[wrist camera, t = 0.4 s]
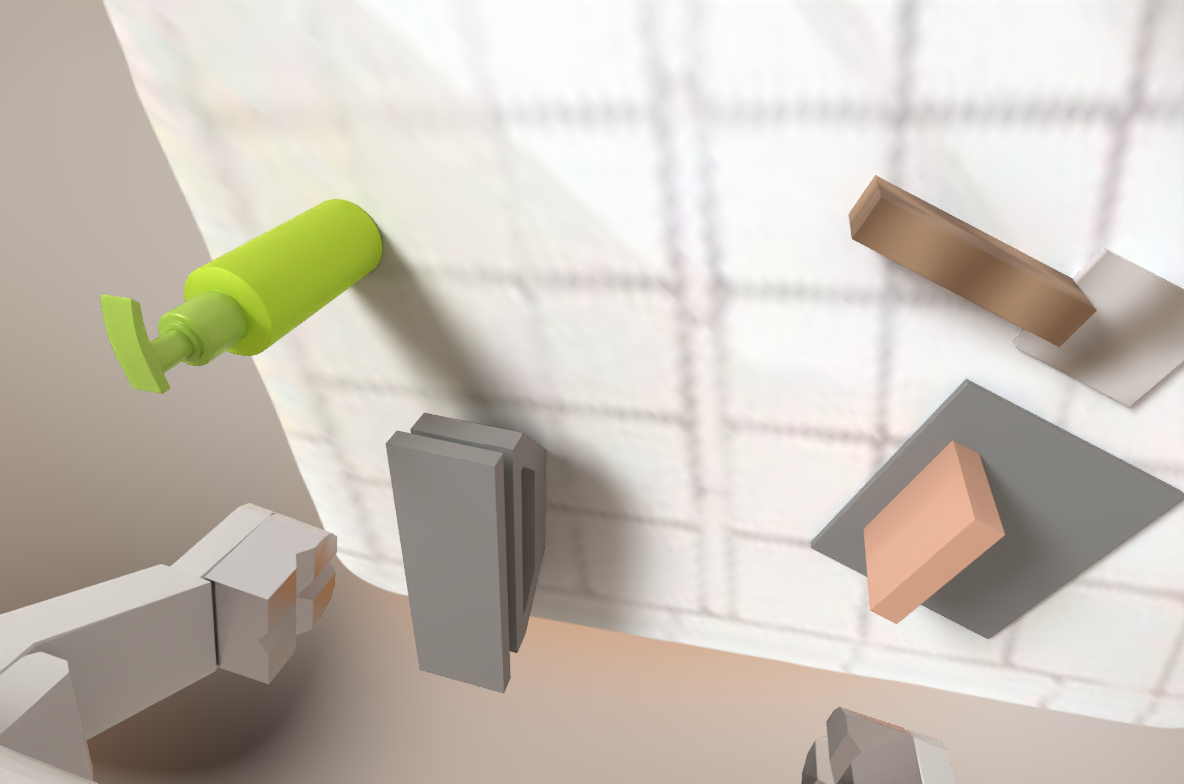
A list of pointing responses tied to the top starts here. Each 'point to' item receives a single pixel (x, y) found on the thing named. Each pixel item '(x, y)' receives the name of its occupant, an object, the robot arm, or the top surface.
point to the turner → (1038, 293)
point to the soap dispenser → (248, 294)
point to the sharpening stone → (469, 542)
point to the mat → (1012, 506)
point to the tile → (930, 532)
